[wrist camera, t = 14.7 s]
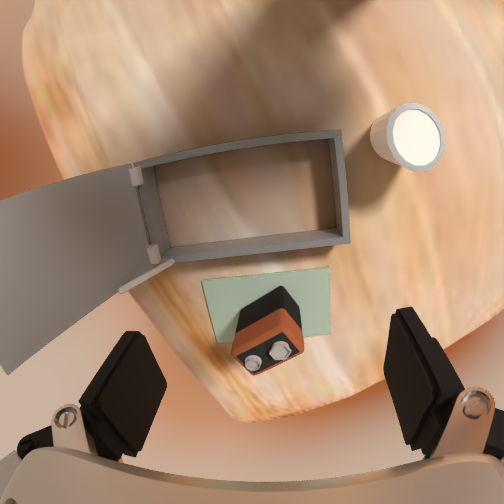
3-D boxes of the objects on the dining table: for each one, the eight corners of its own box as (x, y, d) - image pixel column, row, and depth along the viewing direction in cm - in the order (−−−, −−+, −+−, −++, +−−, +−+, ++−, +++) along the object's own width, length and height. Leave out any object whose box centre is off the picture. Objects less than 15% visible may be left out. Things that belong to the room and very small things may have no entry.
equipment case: (333, 131, 29) (362, 123, 18) (343, 233, 33) (370, 272, 22) (138, 163, 32) (85, 173, 21) (158, 255, 36) (118, 295, 25)
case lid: (-56, 224, 10) (-56, 226, 10) (7, 375, 14) (4, 371, 14) (131, 163, 28) (125, 165, 28) (154, 266, 32) (148, 266, 32)
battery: (300, 307, 36) (307, 358, 27) (258, 331, 38) (252, 383, 29) (282, 282, 35) (283, 330, 26) (238, 308, 37) (226, 359, 28)
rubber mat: (328, 266, 34) (329, 267, 34) (330, 332, 38) (330, 333, 37) (202, 279, 36) (201, 281, 36) (218, 341, 40) (217, 343, 39)
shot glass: (424, 131, 27) (454, 129, 21) (401, 177, 30) (429, 185, 23) (378, 98, 27) (403, 88, 20) (354, 146, 29) (374, 147, 23)
